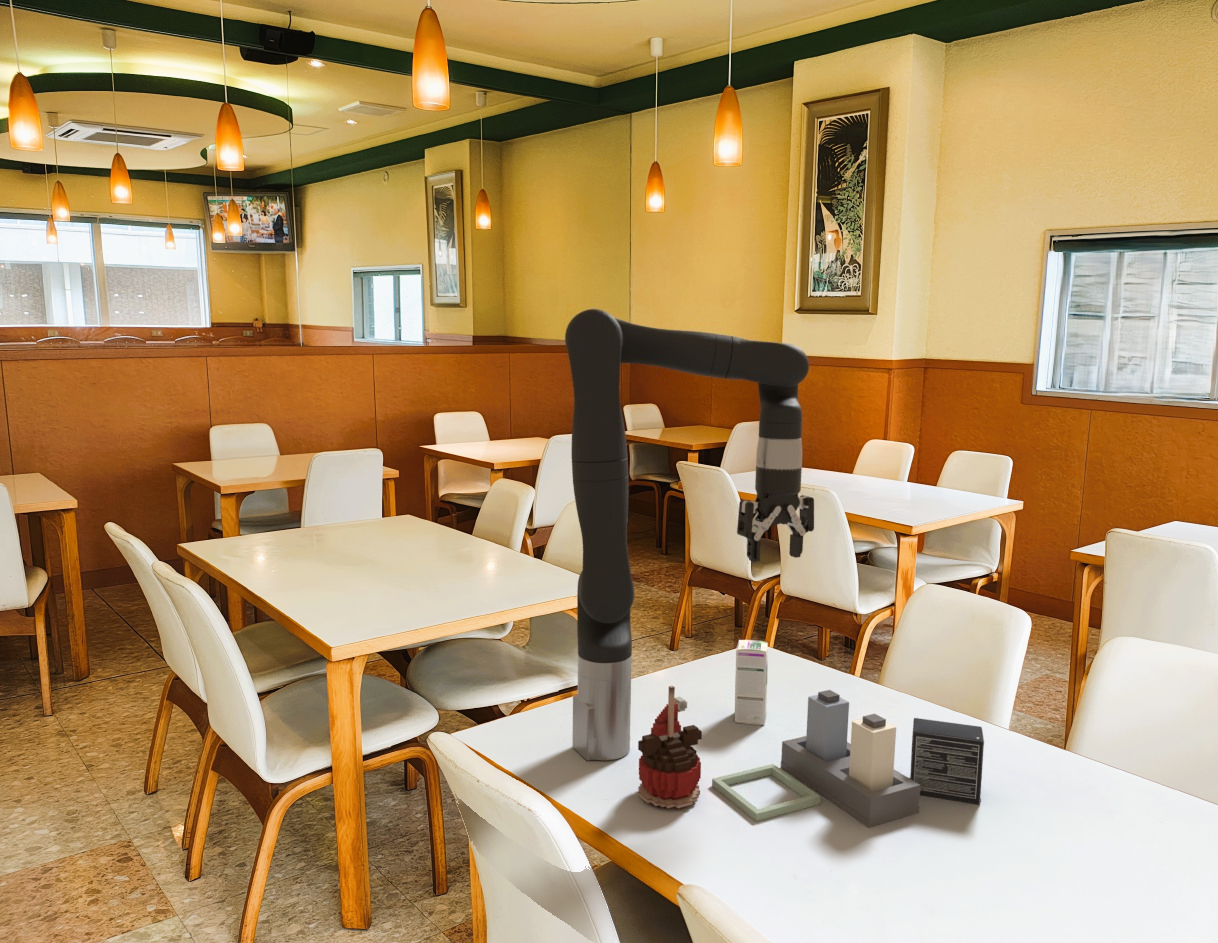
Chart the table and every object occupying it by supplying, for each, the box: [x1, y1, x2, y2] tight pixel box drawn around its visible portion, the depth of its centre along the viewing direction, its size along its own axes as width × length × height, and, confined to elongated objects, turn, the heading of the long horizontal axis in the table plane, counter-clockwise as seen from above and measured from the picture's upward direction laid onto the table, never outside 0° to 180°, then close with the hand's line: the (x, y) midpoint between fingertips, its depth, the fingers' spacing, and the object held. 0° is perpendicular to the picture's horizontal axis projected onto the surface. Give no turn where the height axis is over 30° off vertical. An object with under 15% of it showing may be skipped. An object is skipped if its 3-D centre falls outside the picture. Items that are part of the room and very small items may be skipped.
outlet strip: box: [780, 735, 921, 828], centre depth 144 cm, size 10×21×4 cm, turn 27°
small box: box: [909, 717, 985, 805], centre depth 144 cm, size 11×6×10 cm, turn 71°
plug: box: [849, 713, 897, 791], centre depth 139 cm, size 5×5×13 cm
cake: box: [637, 685, 703, 809], centre depth 140 cm, size 11×9×18 cm
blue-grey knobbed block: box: [805, 689, 850, 762], centre depth 148 cm, size 5×5×13 cm
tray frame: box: [711, 763, 821, 822], centre depth 142 cm, size 12×12×1 cm
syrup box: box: [734, 639, 769, 726], centre depth 170 cm, size 6×6×14 cm
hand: (774, 558), depth 153 cm, fingers open, 8 cm apart
